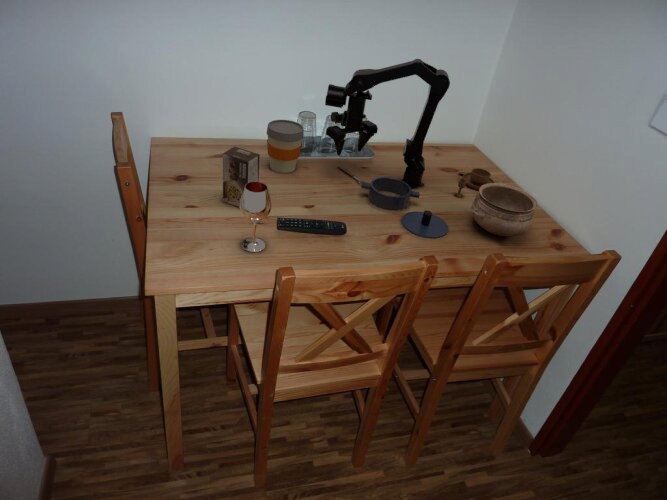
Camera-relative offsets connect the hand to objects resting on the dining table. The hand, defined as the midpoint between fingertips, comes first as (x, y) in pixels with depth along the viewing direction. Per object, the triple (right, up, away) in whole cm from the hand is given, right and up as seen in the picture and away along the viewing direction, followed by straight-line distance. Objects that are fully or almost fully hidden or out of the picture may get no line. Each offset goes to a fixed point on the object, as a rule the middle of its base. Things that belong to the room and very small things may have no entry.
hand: (348, 153), depth 178 cm
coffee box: (-34, -19, -22) cm, 45 cm away
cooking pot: (+46, -28, -16) cm, 56 cm away
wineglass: (-27, -33, -39) cm, 58 cm away
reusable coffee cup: (-23, -5, +1) cm, 24 cm away
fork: (+2, -8, +1) cm, 9 cm away
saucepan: (+13, -18, -9) cm, 24 cm away
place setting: (+44, -10, +9) cm, 46 cm away
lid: (+23, -26, -20) cm, 40 cm away
